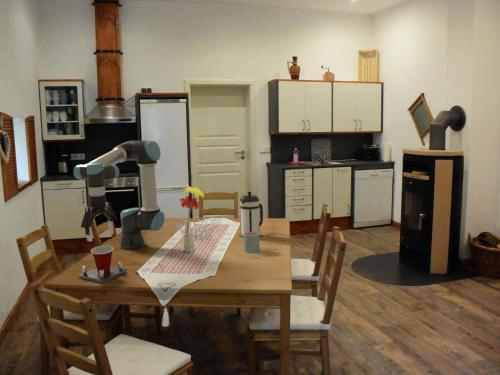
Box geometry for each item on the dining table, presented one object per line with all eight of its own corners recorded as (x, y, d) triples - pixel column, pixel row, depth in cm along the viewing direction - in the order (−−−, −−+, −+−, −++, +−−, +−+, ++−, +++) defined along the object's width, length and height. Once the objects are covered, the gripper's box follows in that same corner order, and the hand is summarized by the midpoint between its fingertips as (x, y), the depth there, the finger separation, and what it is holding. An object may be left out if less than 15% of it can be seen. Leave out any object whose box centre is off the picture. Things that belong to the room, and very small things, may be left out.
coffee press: (263, 239, 270) (262, 193, 266) (238, 239, 270) (237, 193, 266) (263, 232, 287) (262, 188, 283) (239, 232, 288) (238, 189, 283)
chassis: (104, 267, 222) (103, 257, 221) (126, 272, 214) (126, 262, 213) (79, 277, 208) (78, 267, 207) (102, 283, 200) (101, 272, 199)
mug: (258, 253, 242) (257, 236, 240) (242, 252, 244) (241, 235, 242) (262, 246, 255) (261, 230, 253) (247, 245, 257) (246, 229, 255)
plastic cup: (91, 276, 205) (89, 252, 203) (93, 269, 215) (91, 246, 213) (115, 274, 208) (113, 250, 206) (115, 267, 218) (113, 244, 216)
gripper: (111, 190, 217) (114, 230, 221) (70, 199, 196) (74, 243, 199) (122, 191, 214) (124, 231, 217) (81, 200, 192) (85, 245, 196)
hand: (100, 237), depth 208 cm, fingers open, 13 cm apart
